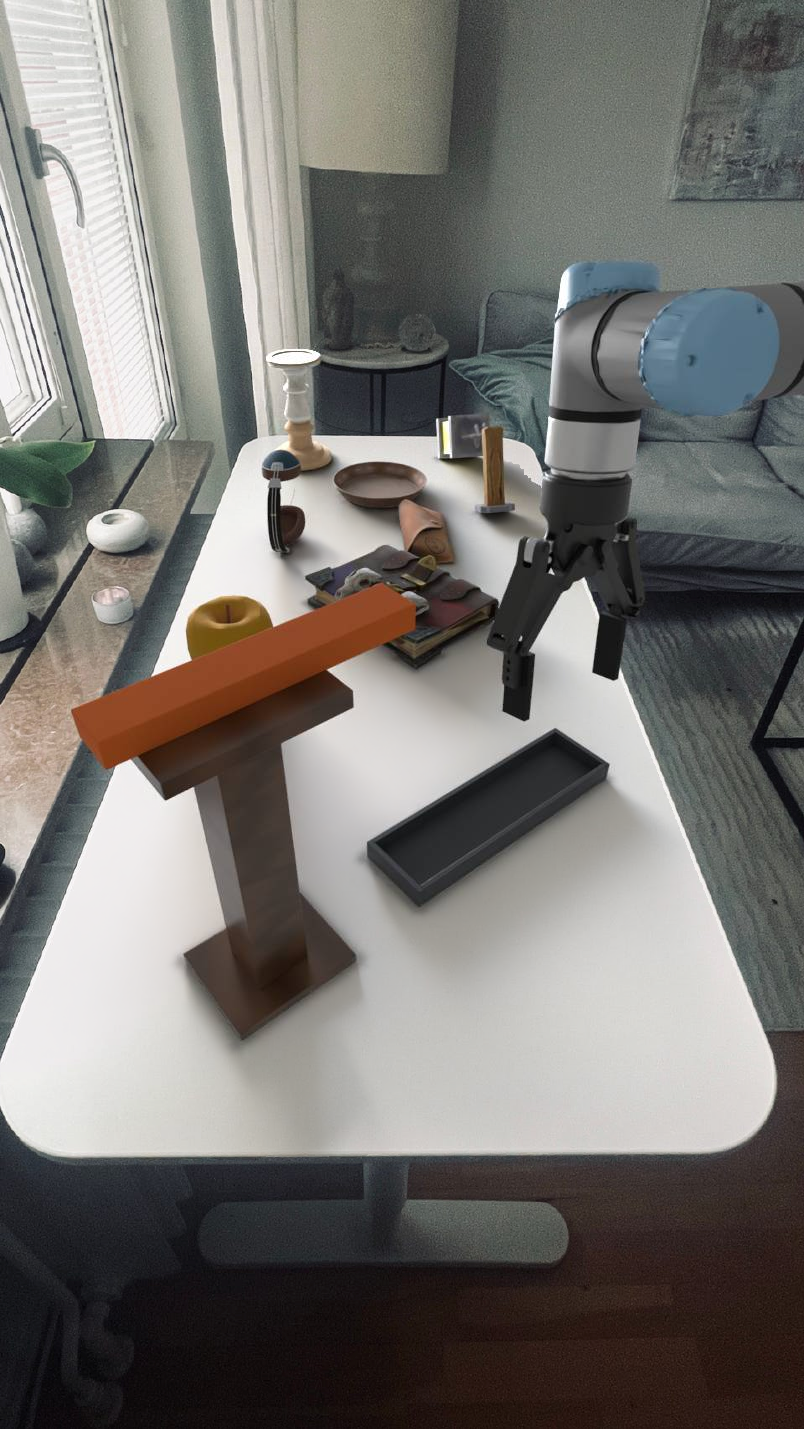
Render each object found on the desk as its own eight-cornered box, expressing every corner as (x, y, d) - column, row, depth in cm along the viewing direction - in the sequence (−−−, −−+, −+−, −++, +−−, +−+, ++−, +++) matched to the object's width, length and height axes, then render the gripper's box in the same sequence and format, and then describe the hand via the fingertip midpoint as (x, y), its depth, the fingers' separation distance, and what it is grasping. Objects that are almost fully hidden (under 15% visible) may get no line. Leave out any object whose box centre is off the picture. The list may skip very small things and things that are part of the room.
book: (503, 624, 115) (507, 579, 110) (413, 673, 106) (414, 627, 101) (383, 559, 130) (382, 517, 125) (295, 597, 121) (291, 554, 116)
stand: (303, 887, 78) (272, 626, 59) (365, 954, 72) (353, 690, 53) (174, 966, 71) (91, 700, 52) (230, 1048, 65) (160, 783, 46)
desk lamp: (440, 504, 167) (478, 513, 139) (436, 418, 162) (475, 410, 133) (475, 501, 168) (520, 510, 140) (472, 416, 163) (518, 407, 135)
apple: (268, 721, 98) (256, 634, 90) (184, 713, 99) (165, 627, 91) (290, 669, 106) (281, 585, 98) (212, 663, 107) (197, 579, 99)
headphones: (278, 503, 144) (260, 573, 128) (269, 423, 133) (248, 489, 118) (312, 504, 144) (298, 574, 128) (306, 424, 133) (289, 490, 118)
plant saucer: (402, 469, 159) (402, 454, 157) (442, 503, 147) (443, 487, 145) (319, 484, 153) (318, 469, 152) (355, 520, 141) (354, 504, 139)
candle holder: (287, 445, 169) (277, 345, 156) (340, 452, 166) (335, 350, 153) (261, 467, 160) (249, 362, 147) (318, 474, 157) (310, 368, 144)
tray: (552, 741, 95) (555, 727, 93) (606, 778, 90) (610, 763, 89) (367, 856, 81) (366, 841, 80) (418, 907, 76) (419, 892, 75)
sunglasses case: (458, 560, 129) (438, 528, 125) (421, 581, 131) (400, 551, 127) (443, 513, 143) (425, 483, 139) (410, 532, 144) (391, 503, 141)
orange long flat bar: (382, 607, 61) (381, 582, 59) (415, 629, 58) (416, 603, 57) (79, 736, 49) (70, 709, 48) (105, 771, 47) (97, 743, 45)
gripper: (635, 450, 77) (608, 650, 87) (451, 482, 62) (443, 719, 72) (706, 460, 72) (668, 672, 82) (523, 498, 57) (503, 750, 67)
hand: (562, 694), depth 77 cm, fingers open, 13 cm apart
